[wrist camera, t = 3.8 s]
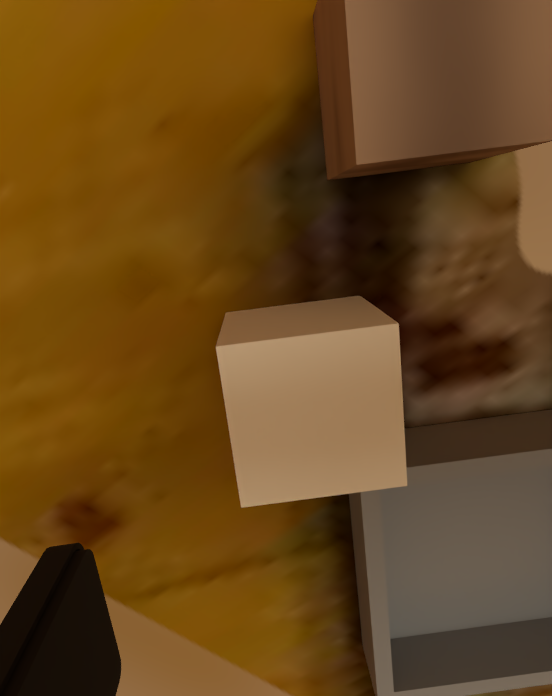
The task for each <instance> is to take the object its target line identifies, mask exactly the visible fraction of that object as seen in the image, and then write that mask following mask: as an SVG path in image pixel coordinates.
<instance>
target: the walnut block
mask: <svg viewBox="0 0 552 696" xmlns="http://www.w3.org/2000/svg"><path fill="white" fill-rule="evenodd" d="M313 23H314V34H315V46H316V57H317V69H318V80H319V91H320V103H321V114H322V125H323V137H324V148H325V159H326V171H327V180H334V179H342V178H350V177H358V176H366V175H374V174H382V173H390V172H398V171H406V170H414V169H422V168H430V167H438V166H446V165H454V164H462V163H470V162H473V161H477V160H481V159H485V158H489V157H492V156H496V155H500V154H504V153H508V152H512V151H515V150H519V149H523V148H527V147H531V146H534V145H538V144H542V143H546V142H550V141H552V0H318V1H317V4H316V8H315V11H314V15H313Z"/></svg>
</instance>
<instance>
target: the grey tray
mask: <svg viewBox="0 0 552 696" xmlns="http://www.w3.org/2000/svg"><path fill="white" fill-rule="evenodd" d="M404 432H405V450H406V469H407V486H403V487H395V488H387V489H380V490H372V491H365V492H357V493H349V502H350V513H351V524H352V535H353V546H354V557H355V568H356V579H357V590H358V601H359V612H360V623H361V634H362V645H363V649H364V653H365V657H366V661H367V665H368V668H369V672H370V676H371V680H372V684H373V688H374V692H375V696H466V695H473V694H480V693H487V692H495V691H502V690H509V689H517V688H524V687H531V686H539V685H546V684H552V409H551V410H543V411H536V412H528V413H520V414H513V415H505V416H497V417H490V418H482V419H474V420H467V421H459V422H451V423H444V424H436V425H428V426H421V427H413V428H405V429H404Z"/></svg>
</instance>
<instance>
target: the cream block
mask: <svg viewBox="0 0 552 696" xmlns="http://www.w3.org/2000/svg"><path fill="white" fill-rule="evenodd" d="M216 352H217V358H218V364H219V371H220V377H221V383H222V390H223V396H224V402H225V409H226V415H227V421H228V428H229V434H230V440H231V446H232V453H233V459H234V465H235V472H236V478H237V484H238V491H239V497H240V503H241V508H243V507H250V506H258V505H266V504H273V503H281V502H288V501H296V500H304V499H311V498H319V497H327V496H334V495H342V494H349V493H357V492H365V491H372V490H380V489H387V488H395V487H403V486H407V469H406V450H405V432H404V413H403V394H402V375H401V356H400V337H399V323H398V322H396V321H395V320H393V319H392V318H391V317H389V316H388V315H386V314H385V313H384V312H382V311H381V310H379V309H378V308H377V307H375V306H374V305H372V304H371V303H370V302H368V301H367V300H365V299H364V298H363V297H361V296H352V297H344V298H336V299H329V300H321V301H313V302H305V303H297V304H289V305H281V306H273V307H265V308H257V309H249V310H241V311H234V312H226V314H225V317H224V321H223V324H222V327H221V331H220V334H219V337H218V341H217V344H216Z"/></svg>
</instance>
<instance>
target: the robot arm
mask: <svg viewBox="0 0 552 696" xmlns="http://www.w3.org/2000/svg"><path fill="white" fill-rule="evenodd" d="M120 675H121V659H120V655H119V650H118V646H117V643H116V639H115V635H114V631H113V627H112V623H111V620H110V616H109V612H108V608H107V604H106V601H105V597H104V593H103V589H102V585H101V581H100V578H99V574H98V570H97V566H96V562H95V559H94V555H93V552H92V551H91V550H90V549H87V550H84V548H83V546H82V545H81V544H80V543H74V544H67V545H60V546H53V547H49V548H47V549H46V550H45V552H44V553H43V555H42V556H41V558H40V560H39V561H38V563H37V565H36V566H35V568H34V570H33V571H32V573H31V575H30V576H29V578H28V580H27V581H26V583H25V585H24V586H23V588H22V590H21V591H20V593H19V595H18V597H17V598H16V600H15V601H14V603H13V605H12V606H11V608H10V610H9V611H8V613H7V615H6V616H5V618H4V620H3V621H2V623H1V625H0V696H116V692H117V688H118V684H119V680H120Z"/></svg>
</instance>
